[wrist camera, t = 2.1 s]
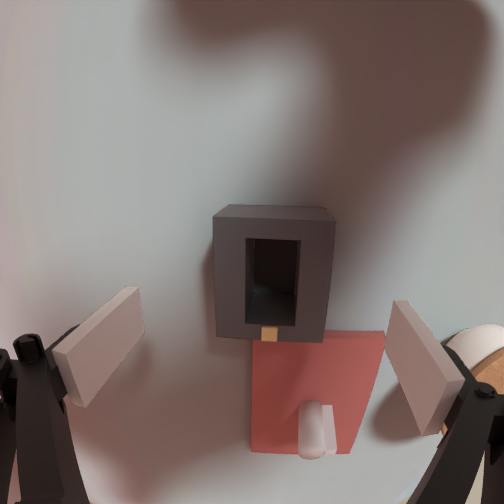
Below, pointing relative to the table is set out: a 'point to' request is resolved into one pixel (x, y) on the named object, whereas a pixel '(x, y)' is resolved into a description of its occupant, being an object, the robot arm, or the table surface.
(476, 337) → the lidded jar
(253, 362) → the plate
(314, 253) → the hollow frame block
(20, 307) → the table surface
